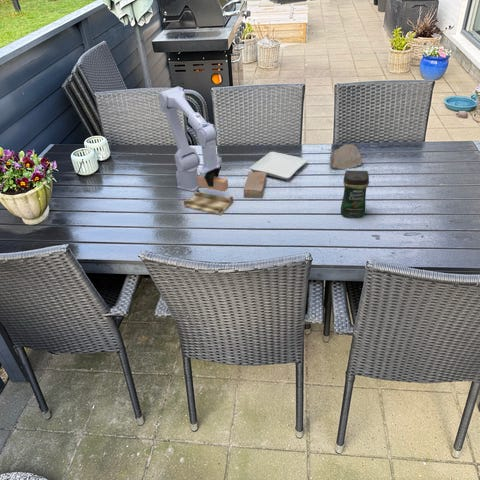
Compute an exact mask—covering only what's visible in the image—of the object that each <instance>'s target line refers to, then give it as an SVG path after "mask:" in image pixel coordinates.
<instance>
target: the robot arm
mask: <svg viewBox="0 0 480 480" xmlns="http://www.w3.org/2000/svg"><path fill="white" fill-rule="evenodd" d="M157 101H158V104H159V106H160V109H161V112H162V113H164V114H165V116H166V120H167V122H168V124H169V125H168V126H169V128H170V131H171V134H172V136H173V139H174V142H175V145H176V148H177V151H176V152H175V154H174V160H175V166H176V168H177V169H176V172H175V173H176V174H175V175H176V182H177V186H176V188H177V189H181V190H185V191H189V192H196V190H197V189H199V188H200V187H201V186H199V185H198V176H199V175H200V176H203V177H204V178H205V180H206V182H207V184H208V186H210V187H213V178H214V176H216V177H220V176H219V175H220V171H221V169H222V165H220V163H222V161H223V160H222V157H221V156H219V157H218V155H217V145H216V138H218V129H217V128H216V126H215V125H214V124H213V123H210V122H207V121H206V120H205V118H204V117H203V116H202V115H201V113H200V112H195V110H194V109H193V108H192V106H191V105H190V103H189V102H188V100H186V93H185V91H184V89H183V88H182V87H181V86H177V85H176V87H172V88H170V89H165V90H162V91H159V92H158V95H157ZM178 110H179V111H180V112H182V113H183V114H184V116H185V117H186V118H188V119H187V122H188V124H189V125H190V127H192V129H193V130H194V131H195V132H196V133H197V134H196V137H197V139H198V141H199V146H201V152H202V162H203V165H202V167H201V170H200V171H199V175H198V169H199V165H200V163H201V158H200V156H199V154H198V153H197V150H196V148H193V147H192V146H190V145H189V142H188V139H187V135H186V133H185V131H184V127H183V124H182V122H181V119H180V116H179V113H178Z"/></svg>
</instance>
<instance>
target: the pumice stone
mask: <svg viewBox="0 0 480 480" xmlns="http://www.w3.org/2000/svg"><path fill="white" fill-rule="evenodd" d="M363 162H364V161H363V158H362V155H361V152H360V151H359V149H358V147H357V145H355V144H353V143H350V144H347V143H346V144H343V145H342V146H340V147H339V148H337V149H334V151H333V153H332V155H331V158H330V165H329V166H330V168H332V169H337V170H338V169H339V170H347V169H346V168H349V169H354V168H356V167H357V166H361V165H362V163H363Z"/></svg>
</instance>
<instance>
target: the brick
mask: <svg viewBox="0 0 480 480" xmlns="http://www.w3.org/2000/svg"><path fill="white" fill-rule="evenodd" d="M266 182H267V175H266V173H265V172H254V171H252V172H250V171H249V172H248V174H247V177H246V181H245V183H244V186H243V197H244V198H245V199H262V198H263V196H264V194H263V193H264V190H265V185H266Z"/></svg>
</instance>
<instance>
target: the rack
mask: <svg viewBox="0 0 480 480" xmlns="http://www.w3.org/2000/svg"><path fill="white" fill-rule="evenodd" d="M193 192H194V196H192V197H191V199H189V198H186V199H184V200H183V206H184V208H187V209H192V210H196V211H200V212H205V213H209V214H212V215H216V216H222V215H223V214H225V212H226V211H227V210H228V209H229V208H230V207H231V205H233V203H234V196H232V195H230V196H229V198H227V197H224V196H223V197H222V196H217V195H213V194H208V193H204V192H200V189H199V188H198V189H196V190H195V191H193Z"/></svg>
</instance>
